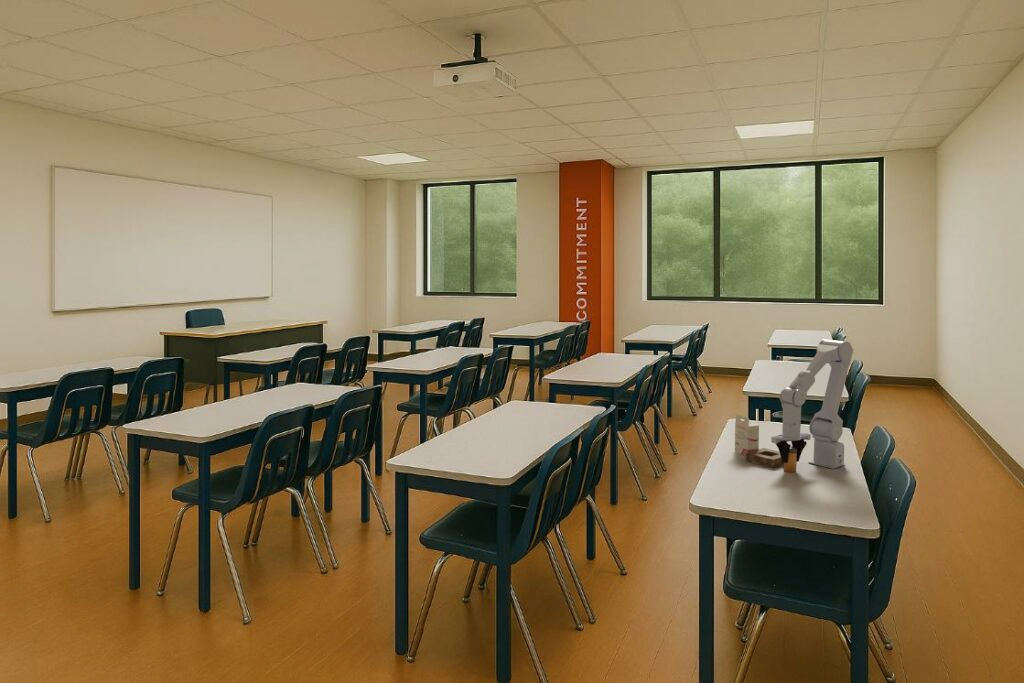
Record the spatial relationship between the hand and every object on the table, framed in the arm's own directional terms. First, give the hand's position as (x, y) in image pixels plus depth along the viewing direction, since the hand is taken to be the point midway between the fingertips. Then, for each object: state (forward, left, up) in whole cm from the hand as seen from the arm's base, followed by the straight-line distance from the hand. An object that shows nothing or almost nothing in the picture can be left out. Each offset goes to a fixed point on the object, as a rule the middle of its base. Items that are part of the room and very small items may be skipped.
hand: (790, 461), depth 245 cm
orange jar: (0, 0, -3) cm, 3 cm away
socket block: (+11, -4, -3) cm, 12 cm away
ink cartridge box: (+22, -7, -3) cm, 23 cm away
